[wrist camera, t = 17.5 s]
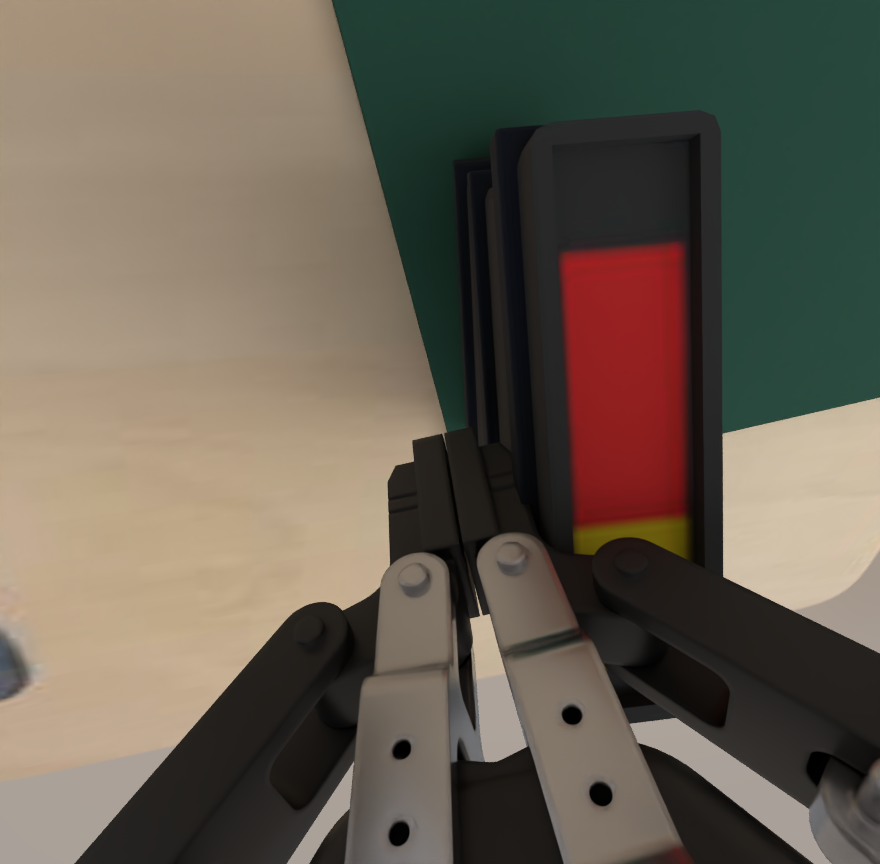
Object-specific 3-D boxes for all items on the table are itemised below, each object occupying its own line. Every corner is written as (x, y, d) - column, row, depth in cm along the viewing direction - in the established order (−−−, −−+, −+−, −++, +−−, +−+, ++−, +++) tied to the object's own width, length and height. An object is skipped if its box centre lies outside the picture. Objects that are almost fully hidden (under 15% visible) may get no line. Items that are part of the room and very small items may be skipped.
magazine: (467, 508, 26) (549, 749, 11) (439, 195, 23) (497, -27, 9) (550, 499, 26) (740, 725, 11) (531, 188, 24) (742, -44, 9)
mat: (324, -33, 16) (323, -34, 16) (1139, -263, 15) (1161, -271, 15) (462, 486, 28) (463, 493, 28) (926, 379, 27) (935, 385, 26)
